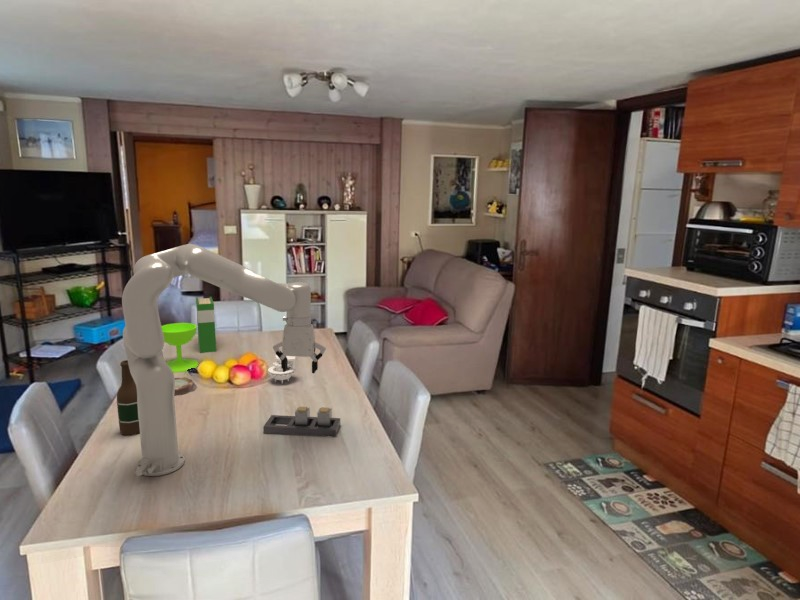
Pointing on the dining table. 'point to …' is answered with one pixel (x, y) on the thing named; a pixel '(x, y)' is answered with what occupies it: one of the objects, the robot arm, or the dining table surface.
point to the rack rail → (299, 427)
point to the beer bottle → (127, 403)
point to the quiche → (184, 386)
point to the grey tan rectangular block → (324, 417)
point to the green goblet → (179, 344)
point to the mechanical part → (278, 371)
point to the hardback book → (206, 325)
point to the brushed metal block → (302, 417)
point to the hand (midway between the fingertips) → (299, 371)
